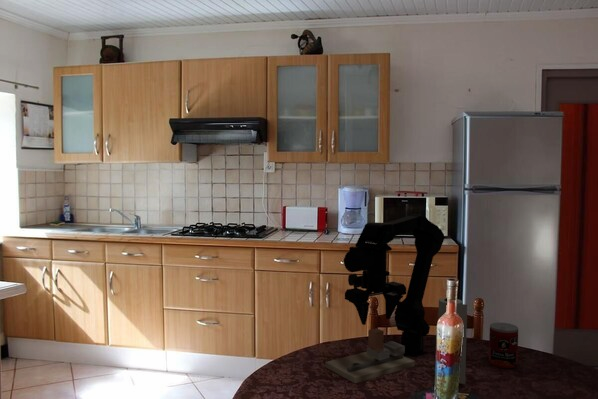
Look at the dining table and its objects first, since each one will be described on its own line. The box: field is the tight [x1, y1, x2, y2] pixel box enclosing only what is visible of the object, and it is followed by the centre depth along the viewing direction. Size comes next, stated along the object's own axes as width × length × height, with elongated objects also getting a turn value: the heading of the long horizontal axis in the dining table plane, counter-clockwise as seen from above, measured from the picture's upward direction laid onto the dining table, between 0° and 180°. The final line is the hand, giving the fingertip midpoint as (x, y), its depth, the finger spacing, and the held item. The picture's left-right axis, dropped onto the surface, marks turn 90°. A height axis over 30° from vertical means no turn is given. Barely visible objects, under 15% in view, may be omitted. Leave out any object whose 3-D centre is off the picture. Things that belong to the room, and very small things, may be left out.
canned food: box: [488, 322, 519, 369], centre depth 146 cm, size 8×8×11 cm
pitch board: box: [324, 340, 416, 384], centre depth 143 cm, size 22×13×5 cm, turn 124°
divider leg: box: [366, 327, 390, 360], centre depth 143 cm, size 4×5×8 cm
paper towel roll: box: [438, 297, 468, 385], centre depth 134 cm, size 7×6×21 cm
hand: (375, 321), depth 144 cm, fingers open, 9 cm apart
